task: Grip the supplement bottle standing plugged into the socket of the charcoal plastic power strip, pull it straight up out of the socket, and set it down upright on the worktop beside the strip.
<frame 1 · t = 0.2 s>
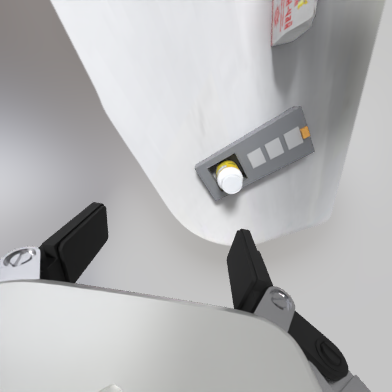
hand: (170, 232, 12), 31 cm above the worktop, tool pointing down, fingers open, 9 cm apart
power strip: (248, 157, 39), on the worktop
supplement bottle: (226, 169, 41), resting in power strip
white gable-top box: (282, 19, 28), on the worktop
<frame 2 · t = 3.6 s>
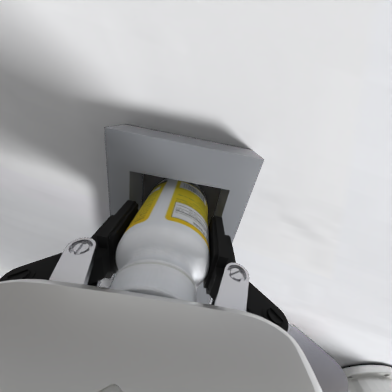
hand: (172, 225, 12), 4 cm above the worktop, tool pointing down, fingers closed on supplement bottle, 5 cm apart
power strip: (171, 248, 18), on the worktop
supplement bottle: (179, 201, 16), resting in power strip, touching gripper
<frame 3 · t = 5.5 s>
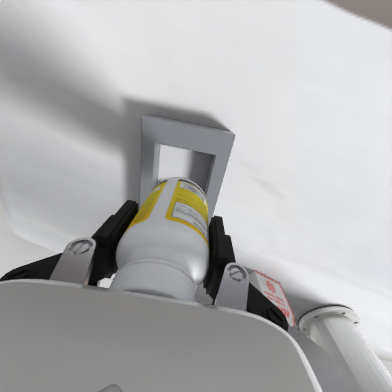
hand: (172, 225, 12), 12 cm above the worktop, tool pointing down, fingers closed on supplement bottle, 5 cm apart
power strip: (178, 206, 25), on the worktop
supplement bottle: (179, 201, 16), point 8 cm above the worktop, touching gripper
white gable-top box: (260, 280, 34), on the worktop
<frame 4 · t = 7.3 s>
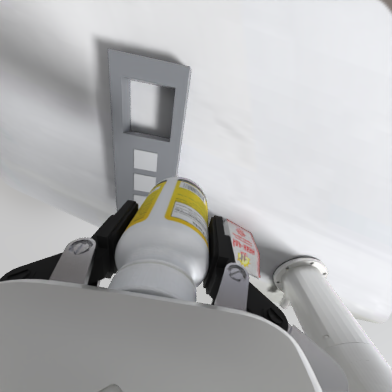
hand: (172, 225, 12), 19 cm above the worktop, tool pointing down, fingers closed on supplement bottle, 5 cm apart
power strip: (151, 150, 28), on the worktop
supplement bottle: (179, 201, 16), point 15 cm above the worktop, touching gripper
white gable-top box: (233, 231, 36), on the worktop
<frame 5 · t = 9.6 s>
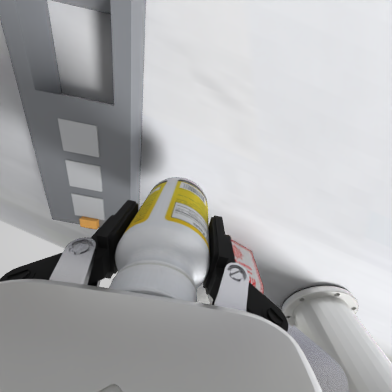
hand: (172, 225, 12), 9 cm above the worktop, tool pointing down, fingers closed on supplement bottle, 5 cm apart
power strip: (97, 125, 18), on the worktop
supplement bottle: (179, 201, 16), point 6 cm above the worktop, touching gripper
white gable-top box: (226, 247, 26), on the worktop
when the fingers open (4 cm above the worktop, at t = 11.4 s): supplement bottle stays where it is, on the worktop.
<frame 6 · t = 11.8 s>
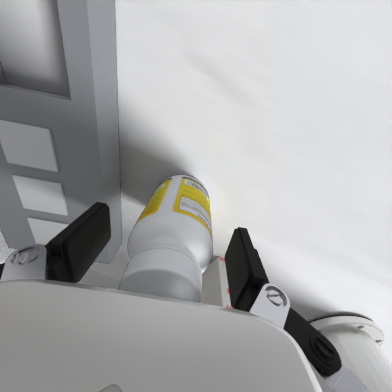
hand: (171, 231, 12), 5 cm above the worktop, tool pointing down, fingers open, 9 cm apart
power strip: (59, 127, 14), on the worktop
supplement bottle: (182, 198, 17), on the worktop
white gable-top box: (230, 274, 21), on the worktop
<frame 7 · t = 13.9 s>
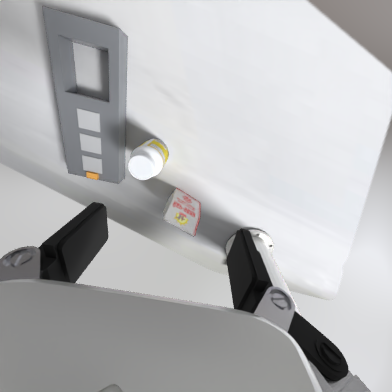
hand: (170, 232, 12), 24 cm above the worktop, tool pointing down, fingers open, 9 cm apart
power strip: (98, 113, 30), on the worktop
supplement bottle: (156, 151, 34), on the worktop
white gable-top box: (184, 200, 39), on the worktop
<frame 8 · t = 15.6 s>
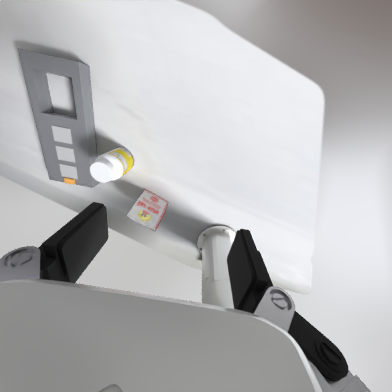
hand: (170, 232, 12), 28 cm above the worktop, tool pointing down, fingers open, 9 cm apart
power strip: (72, 128, 36), on the worktop
supplement bottle: (124, 158, 39), on the worktop
white gable-top box: (154, 200, 43), on the worktop
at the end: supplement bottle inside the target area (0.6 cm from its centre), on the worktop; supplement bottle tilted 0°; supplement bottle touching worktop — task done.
